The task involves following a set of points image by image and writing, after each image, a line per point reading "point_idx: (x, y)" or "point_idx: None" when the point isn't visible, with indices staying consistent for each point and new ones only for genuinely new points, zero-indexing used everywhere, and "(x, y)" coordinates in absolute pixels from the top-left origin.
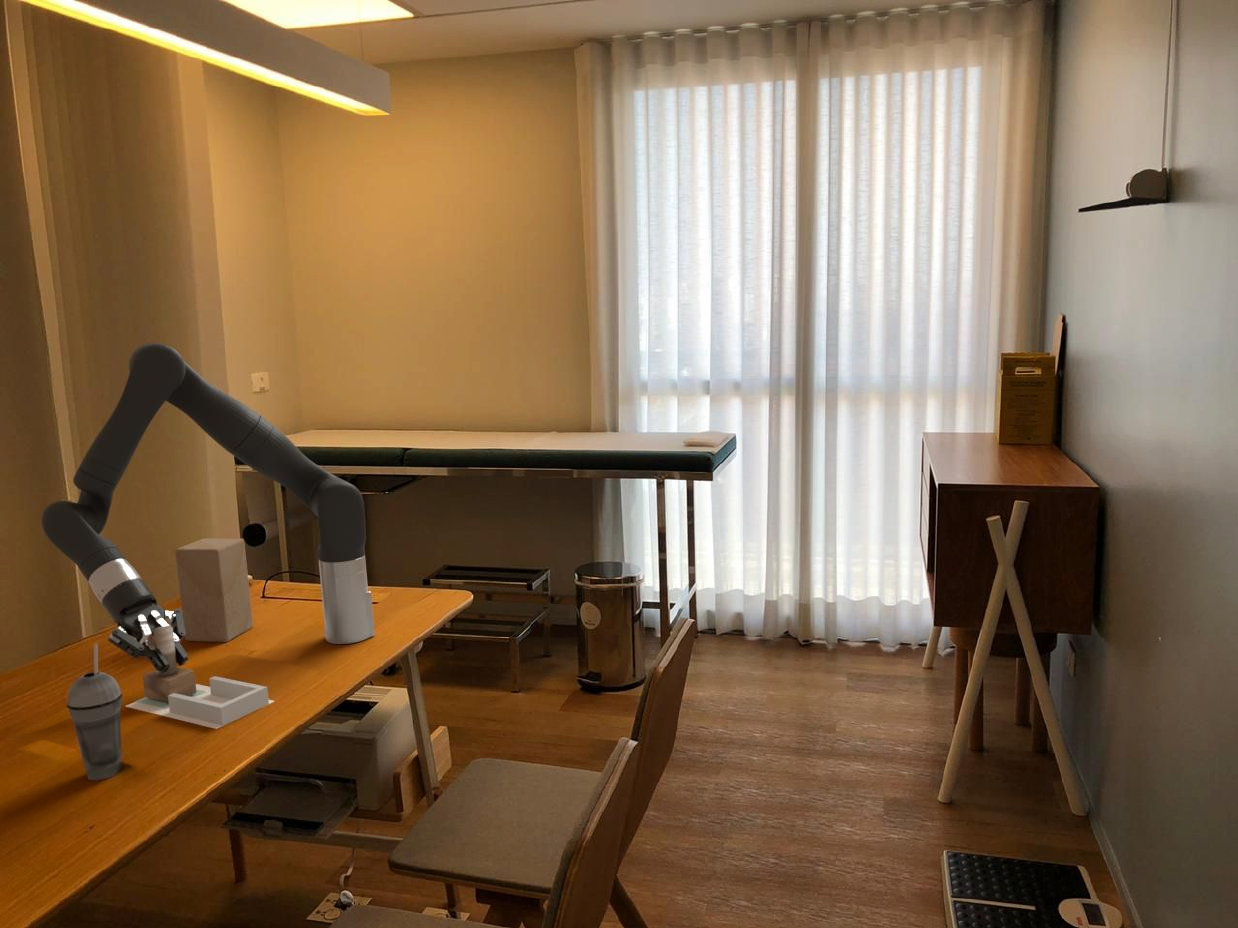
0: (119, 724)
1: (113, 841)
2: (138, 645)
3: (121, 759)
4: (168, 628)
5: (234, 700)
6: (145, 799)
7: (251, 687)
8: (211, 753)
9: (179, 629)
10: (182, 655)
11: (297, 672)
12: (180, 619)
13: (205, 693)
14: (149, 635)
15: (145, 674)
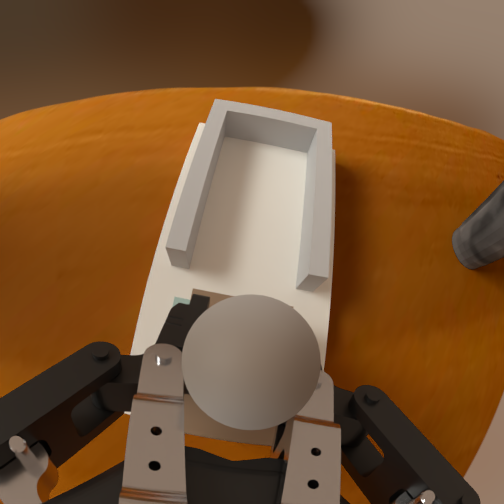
0: (497, 187)
1: (491, 147)
2: (381, 409)
3: (462, 223)
4: (235, 324)
5: (294, 117)
6: (460, 157)
7: (223, 120)
8: (369, 143)
9: (92, 374)
10: (205, 303)
11: (23, 205)
12: (22, 402)
13: (184, 290)
14: (314, 422)
15: (265, 440)
